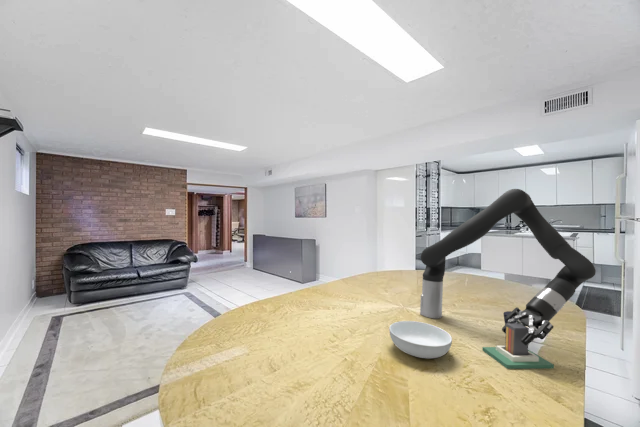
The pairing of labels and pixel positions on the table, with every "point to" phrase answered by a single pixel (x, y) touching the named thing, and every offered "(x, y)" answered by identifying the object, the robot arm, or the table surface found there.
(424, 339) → the serving bowl
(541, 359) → the board
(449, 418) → the table surface
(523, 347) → the gray rectangular block
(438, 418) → the table surface
